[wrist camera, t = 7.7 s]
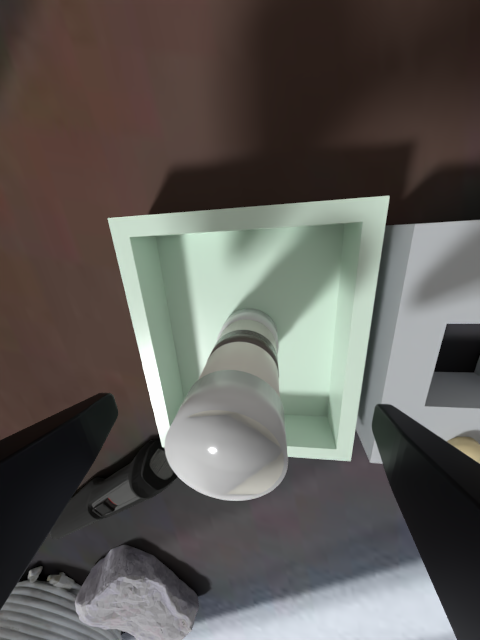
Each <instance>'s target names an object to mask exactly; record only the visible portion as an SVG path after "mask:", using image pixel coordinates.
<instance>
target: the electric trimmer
mask: <svg viewBox="0 0 480 640" xmlns="http://www.w3.org/2000/svg"><path fill="white" fill-rule="evenodd" d="M176 478H177V475H176V474H175V472H174V471H173V470H172V468H171V467H170V465H169V463H168V461H167V458H166V454H165V448H164V447H162V445H161V440H160V439H158V440H156V441H155V440H151V441H149V442H148V443H147V444H146V445H145V446H143V447H142V448H141V449H140V451H139V452H138V453H137V455H136V456H135V458H134V459H133V461H132V462H131V463H130V464H128V465H127V466H125V467H123V468H122V469H120V470H119V471H117V472H116V473H114V474H113V475H111V476H109V477H108V478H106V479H104V478H99V477H96V478H94V479H93V480H91V481H90V482H89V483H88V484H87V485H85V486H84V487H83V488H82V489H81V490H80V491H79V492H78V493H77V494H76V495H75V496H73V497H72V498H71V499H70V501H69V502H68V504H67V505H66V507H65V509H64V510H63V512H62V513H61V515H60V517H59V518H58V520H57V521H56V523H55V524H54V526H53V528H52V529H51V531H50V535H51V537H52V538H53V539H60V538H62V537H64V536H66V535H68V534H70V533H73V532H75V531H77V530H79V529H81V528H83V527H85V526H88V525H90V524H92V523H94V522H96V521H98V520H100V519H103V518H107V517H110V516H112V515H114V514H117V513H119V512H121V511H123V510H125V509H128V508H130V507H132V506H134V505H136V504H139V503H141V502H143V501H145V500H148V499H150V498H152V497H154V496H155V495H157V494H159V493H160V492H162V491H163V490H164V489H166V488H167V487H168V486H169V485H170V484H171V483H172V482H173V481H174V480H175V479H176Z"/></svg>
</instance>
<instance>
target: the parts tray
mask: <svg viewBox="0 0 480 640" xmlns="http://www.w3.org/2000/svg"><path fill="white" fill-rule="evenodd" d="M389 198H390V196H378V197H365V198H353V199H340V200H328V201H315V202H303V203H291V204H278V205H266V206H253V207H241V208H228V209H216V210H203V211H191V212H179V213H166V214H154V215H141V216H129V217H116V218H108V222H109V226H110V230H111V234H112V239H113V243H114V247H115V251H116V255H117V260H118V264H119V268H120V272H121V276H122V281H123V285H124V289H125V293H126V297H127V302H128V306H129V310H130V314H131V318H132V323H133V327H134V331H135V335H136V339H137V344H138V348H139V352H140V356H141V361H142V365H143V369H144V373H145V377H146V382H147V386H148V390H149V394H150V398H151V403H152V407H153V411H154V415H155V419H156V424H157V428H158V432H159V436H160V440H161V445H162V447H164V448H165V438H166V435H167V432H168V430H169V428H170V426H171V424H172V422H173V420H174V418H175V417H176V415H177V413H178V411H179V409H180V407H181V405H182V403H183V401H184V399H185V397H186V396H187V394H188V392H189V390H190V388H191V387H192V386H193V384H194V383H195V382H196V381H198V379H199V377H200V375H201V373H202V371H203V369H204V367H205V365H206V362H207V360H208V358H209V356H210V354H211V352H212V350H213V348H214V346H215V344H216V343H217V338H218V335H219V333H220V331H221V329H222V327H223V325H224V323H225V321H226V320H227V318H228V317H229V316H230V315H231V314H232V313H234V312H236V311H237V310H240V309H244V308H253V309H258V310H261V311H263V312H264V313H266V314H267V315H269V316H270V317H271V318H272V320H273V321H274V323H275V325H276V327H277V333H278V345H279V348H278V354H277V356H278V369H279V392H280V399H281V402H282V404H283V408H284V418H285V430H286V442H287V455H288V457H300V458H313V459H327V460H341V461H351V455H352V449H353V442H354V435H355V428H356V422H357V415H358V408H359V401H360V394H361V388H362V381H363V374H364V367H365V361H366V354H367V347H368V340H369V333H370V327H371V320H372V313H373V306H374V300H375V293H376V286H377V279H378V272H379V266H380V259H381V252H382V245H383V239H384V232H385V225H386V218H387V211H388V205H389Z"/></svg>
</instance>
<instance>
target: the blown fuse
mask: <svg viewBox="0 0 480 640" xmlns="http://www.w3.org/2000/svg"><path fill="white" fill-rule="evenodd" d="M278 348H279V345H278V333H277V327H276V325H275V323H274V321H273V320H272V318H271V317H270V316H269V315H267V314H266V313H264V312H263V311H261V310H258V309H253V308H244V309H240V310H237V311H236V312H234V313H232V314H231V315H230V316H229V317H228V318H227V320H226V321H225V323H224V325H223V327H222V329H221V331H220V333H219V335H218V338H217V343H216V344H215V346H214V348H213V350H212V352H211V354H210V356H209V358H208V360H207V362H206V365H205V367H204V369H203V371H202V373H201V375H200V377H199V379H198V381H196V382H195V383H194V384H193V386H192V387H191V388H190V390H189V392H188V394H187V396H186V397H185V399H184V401H183V403H182V405H181V407H180V409H179V411H178V413H177V415H176V417H175V418H174V420H173V422H172V424H171V426H170V428H169V430H168V432H167V435H166V438H165V454H166V458H167V461H168V463H169V465H170V467H171V468H172V470H173V471H174V472H175V474H176V475H177V476H178V477H179V478H180V479H181V480H182V481H183V482H184V483H186V484H187V485H188V486H190V487H191V488H193V489H195V490H196V491H198V492H200V493H203V494H205V495H207V496H211V497H214V498H218V499H223V500H232V501H240V500H249V499H254V498H258V497H260V496H263V495H265V494H267V493H269V492H270V491H272V490H273V489H275V488H276V487H277V486H278V485H279V484H280V482H281V481H282V480H283V478H284V476H285V474H286V471H287V467H288V455H287V442H286V430H285V418H284V408H283V404H282V402H281V399H280V392H279V369H278V356H277V354H278Z"/></svg>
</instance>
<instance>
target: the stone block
mask: <svg viewBox="0 0 480 640" xmlns="http://www.w3.org/2000/svg"><path fill="white" fill-rule="evenodd" d="M75 607H76V612H77V614H78V615H79V620H80V621H82V622H83V623H85V624H87V625H89V626H93V627H100V628H102V629H104V630H107V629H118V630H121V631H124V632H128V633H129V634H131V635H133V636H134V637H135V638H136V639H137V640H182V639H183V638H184V637H185V636H186V635H187V634H188V633H189V632H191V630H192V627H193V624H194V620H195V616H196V613H197V612H198V608H199V603H198V596H197V594H196V593H195V592H194V591H193V590H192V589H190V588H189V587H188V586H187V585H186V584H185V583H184V582H183V581H182V580H180V579H179V578H178V577H177V576H176V575H175V574H174V573H173V572H172V571H171V570H170V569H168V568H167V567H166V566H165V565H164V564H163V563H161V562H160V561H159V560H158V559H157V558H156V557H154V556H153V555H151V554H148V553H146V552H144V551H141V550H139V549H136V548H134V547H131V546H128V545H121V546H119V547H116V548H113V549H111V550H110V551H109V553H108V554H107V555H106V557H105V558H104V559H102V560H100V561H99V562H98V563H97V564H96V565H95V566H94V567H93V568H92V570H91V572H90V574H89V575H88V577H87V578H86V580H85V582H84V583H83V585H82V587H81V589H80V591H79V593H78V594H77V597H76V601H75Z"/></svg>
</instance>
